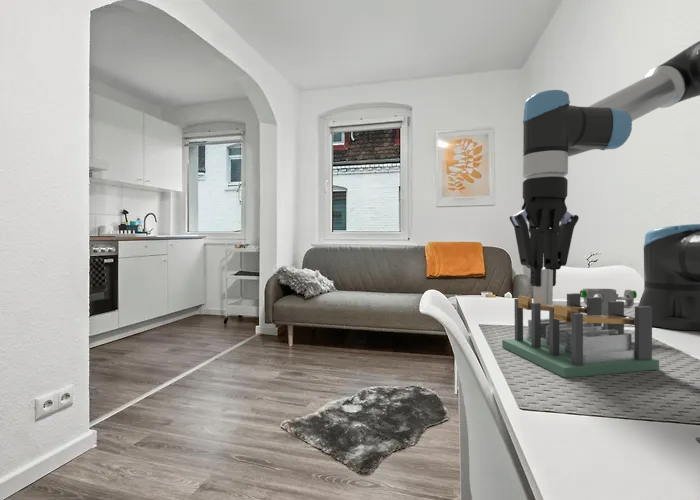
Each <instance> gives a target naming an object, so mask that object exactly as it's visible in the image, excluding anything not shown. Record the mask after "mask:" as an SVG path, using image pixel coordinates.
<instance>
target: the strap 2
mask: <svg viewBox="0 0 700 500" xmlns="http://www.w3.org/2000/svg"><path fill="white" fill-rule="evenodd" d="M553 305H554V319H557V320H561V321H564V322H572V308H568V307H564V306H559V305H560V304H553ZM583 323H602V324H603V323H607V324H624V325H633V326H635V316H628V315H625V314H624V315H618V316H607V315H587V314H583Z"/></svg>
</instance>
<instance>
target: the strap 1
mask: <svg viewBox="0 0 700 500" xmlns="http://www.w3.org/2000/svg"><path fill="white" fill-rule="evenodd" d="M517 299H518V307H519V308H523V310H527V311H531V303H533V297H529V296H525V295H518V298H517ZM554 305H555V304H552V305H547V304H546V305H541V312H542V311H543V312H549V308H551V307H554ZM558 305H559V306H564V307H568V308H572V312H579V313H581V314H583V313H584V314H587V306H583V305H581V304H580V305H575V306H567V304H566V305H563V304H561V305H560V304H558Z"/></svg>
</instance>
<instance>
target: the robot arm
mask: <svg viewBox="0 0 700 500" xmlns="http://www.w3.org/2000/svg"><path fill="white" fill-rule="evenodd" d="M699 96H700V40H699V41H697V42H695V43H693V44H691V45H690V46H688V47H687V48H685V49H684V50H682V51H681V52H679V53H678V54H676V55H675V56H673V57H672V58H670V59H668V60H667V61H665V62H663V63H662V64H660V65H658V66H656V67H654V68H652V69H650V70H649V72H647V74H646V75H645V76H644V77H643V78H642V79H640V80H638V81H636V82H633V83H631V84H630V85H628V86H626V87H624V88H622V89H620V90H618V91H616V92H615V93H612V94H610V95H608V96H606V97H604V98H602V99H600V100H598V101H596V102H594V103H593V104H590V105H588V106H577V105H570V103H571V101H570V95H569V93H568V92H567V91H564V90H562V89H549V90H543V91H539V92H536V93H534V94H532V95H531V96H529V97H528V98H527V99H526V100H525V102H524V109H523V119H522V125H523V127H522V128H523V135H522V136H523V138H522V140H523V142H522V143H523V151H522V152H523V154H522V157H523V159H522V160H523V161H522V164H523V165H522V169H523V170H522V173H523V174H522V177H523V178H524V180H523V182H522V199H523V204H522V206H521V210H520V211H519V212H517V213H516V214H511V215H510V216H509V221H510V222H511V224H512V226H513V227H514V235H515V239H516V245H517V249H518V251H517V252H518V255H519V261H520V264H521V265H522V266H525V267H527V269H529V270H530V282H529V283H530V286H532V287H533V297H532V303H540V304H541V305H546V304H547V305H553V301H554V300H553V296H554V295H553V291H554V288H553V287H555V286H556V283H557V270H560V269H561V268H562V267H563V266H566V265H567V262H568V257H569V255H570V254H569V253H570V248H571V243H572V239H573V234H574V229H575V226H576V225H577V222H578V221H579V219H580V217H579V215H577V214H572V213H570V212H569V211H568V206H567V205H566V198H567V197H568V181H569V179H567V178H566V177H565V176H567V175H568V174H569V157H573V156H574V155H579V154H582V153H586V152H588V151H592V150H601V151H605V150H615V149H619V148H621V146H623V145H625V143H626V142H627V141H628V139H629V137H630V136H631V133H632V130H633V127H632V126H633V121H635V120H637V119H639V118H642V117H643V116H645V115H647V114H649V113H651V112H653V111H655V110H657V109H659V108H660V109H664V108H670V107H672V106H674V105H676V104H678V103H680V102H683V101H686V100H688V99H692V98H695V97H699ZM527 222H528V223H527ZM644 235H645V237H644V245H642V246H643V279H644V280H643V281H644V283H643V284H644V285H643V286H644V287H643V292H642V294H641V297H640V300H639V303H638V306H650V307H652V327H656V328H657V327H658V328H663V329H671V330H682V331H697V332H698V331H700V223H691V224H679V225H672V226H671V225H670V226H663V227H657V228H653V229H651V230H649V231H647V232H646V233H645V234H644Z"/></svg>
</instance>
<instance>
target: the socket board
mask: <svg viewBox="0 0 700 500" xmlns="http://www.w3.org/2000/svg"><path fill="white" fill-rule="evenodd" d="M501 347H502V349H505V350H507V351H509V352H511V353H513V354H515V355H517V356H519V357H521V358H523V359H525V360H528V361H529V362H531V363H534V364H535V365H537V366H540V367H541V368H544V369H545V370H548V371H550V372H552V373H553V374H556V375H558V376H560V377H561V378H565V379H566V378H577V377H585V376H586V377H587V376H599V375H609V374H620V373H621V374H622V373H633V372H642V371H643V372H645V371H655V370H656V371H657V370H660V360H659V359H658V358H654V357H652V359H651V360H636V359H635V360H625V361H613V362H601V363H588V364H585V363H583V365H581V366H575V365H573V364H572V358H570V357H568V356H565V355H563V354H560V353H559V356H552V355H550V354H549V349H548V348H546V347H543V346H541V348H533V347H532V342H531V341H529V340H526V337H523V340H520V341H517V340H515V338H506V339H501Z"/></svg>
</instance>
